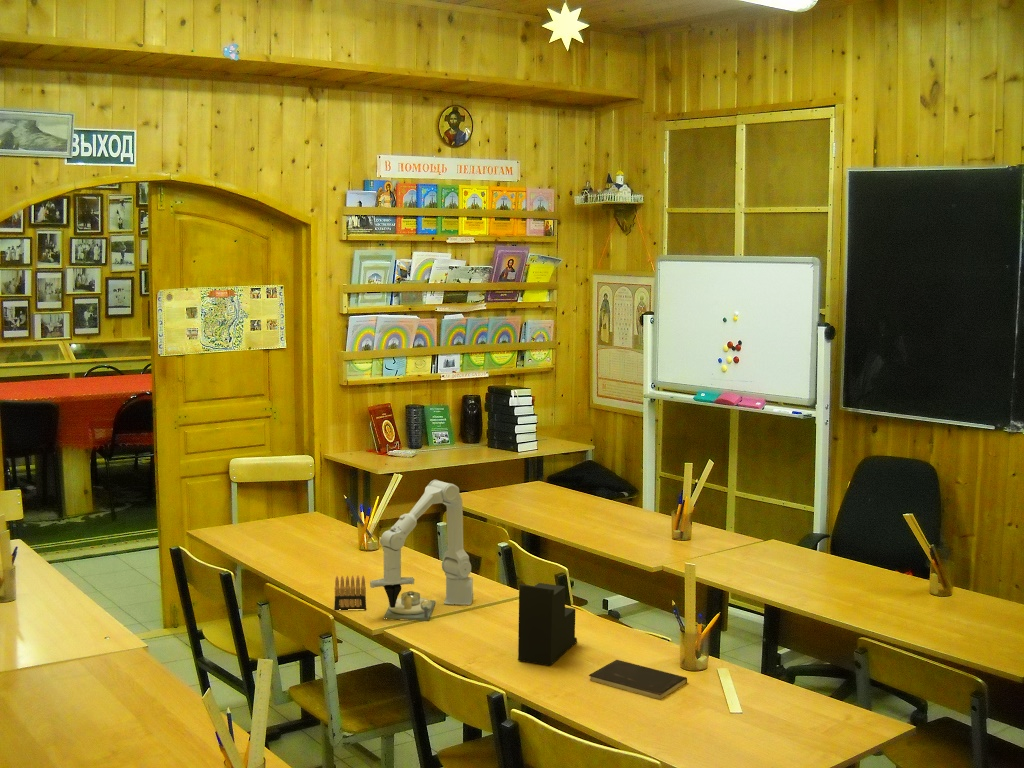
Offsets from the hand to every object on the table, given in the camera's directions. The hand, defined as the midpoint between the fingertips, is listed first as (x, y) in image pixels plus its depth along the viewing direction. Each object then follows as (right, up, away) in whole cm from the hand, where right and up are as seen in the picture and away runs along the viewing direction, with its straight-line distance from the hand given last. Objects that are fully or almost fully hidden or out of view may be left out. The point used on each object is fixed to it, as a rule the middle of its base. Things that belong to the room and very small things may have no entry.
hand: (392, 606), depth 370 cm
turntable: (+5, -2, +7) cm, 9 cm away
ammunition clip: (-15, -3, +9) cm, 18 cm away
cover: (+5, 0, +8) cm, 9 cm away
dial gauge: (+11, -4, -1) cm, 12 cm away
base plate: (+5, -3, +8) cm, 10 cm away
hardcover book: (+76, -12, -53) cm, 93 cm away
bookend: (+51, -8, -29) cm, 59 cm away
